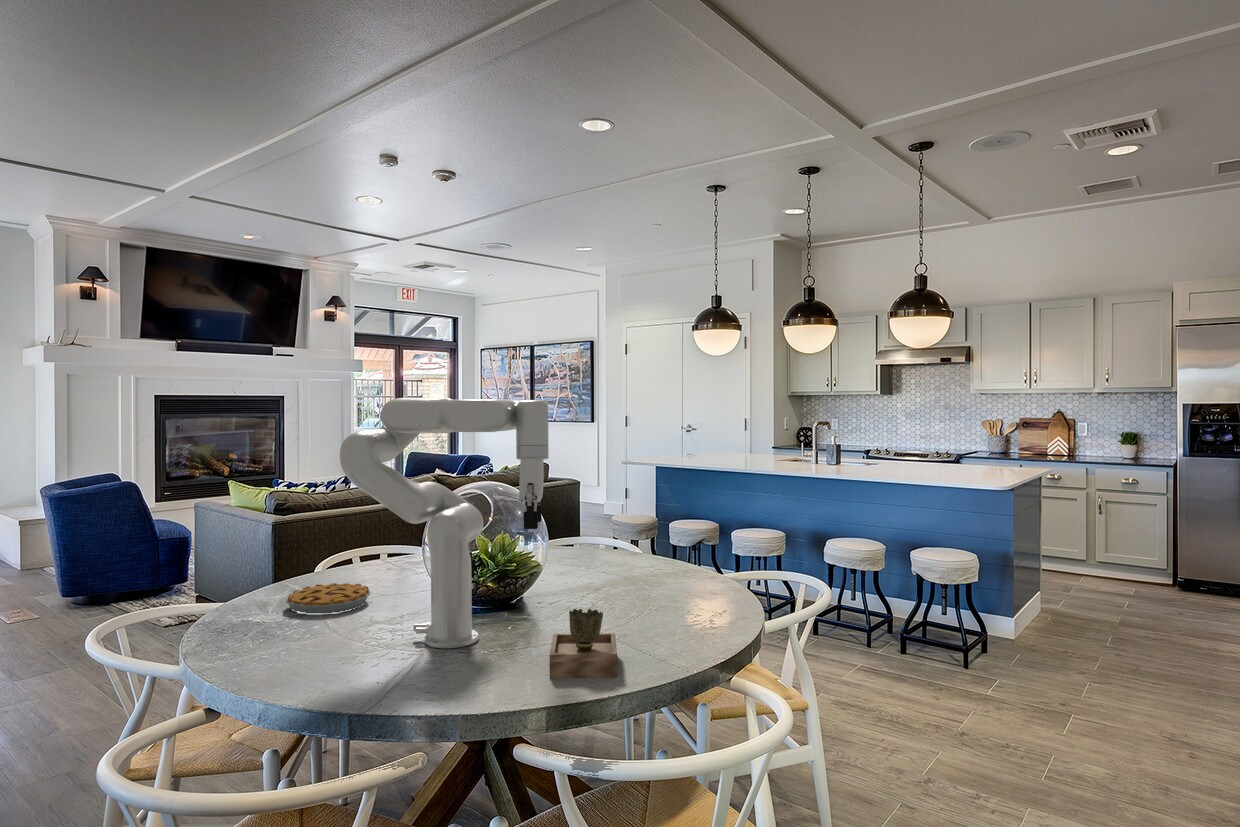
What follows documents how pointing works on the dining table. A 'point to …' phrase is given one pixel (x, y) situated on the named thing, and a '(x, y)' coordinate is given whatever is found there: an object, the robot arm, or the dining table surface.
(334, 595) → the pie
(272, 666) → the dining table surface
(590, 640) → the cup
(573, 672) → the shallow wooden tray
